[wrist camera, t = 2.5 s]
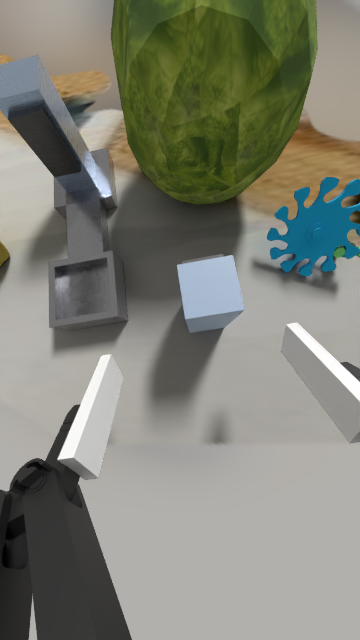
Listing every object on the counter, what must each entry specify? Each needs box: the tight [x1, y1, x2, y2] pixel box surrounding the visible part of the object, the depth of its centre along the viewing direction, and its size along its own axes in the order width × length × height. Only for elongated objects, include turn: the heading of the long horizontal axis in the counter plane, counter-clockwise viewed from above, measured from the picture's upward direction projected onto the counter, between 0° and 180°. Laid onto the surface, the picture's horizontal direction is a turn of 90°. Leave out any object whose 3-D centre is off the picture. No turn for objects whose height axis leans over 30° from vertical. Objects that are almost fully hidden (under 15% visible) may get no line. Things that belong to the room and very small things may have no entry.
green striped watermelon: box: [111, 0, 318, 205], centre depth 19 cm, size 19×23×18 cm
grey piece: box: [0, 55, 128, 331], centre depth 21 cm, size 9×27×12 cm, turn 8°
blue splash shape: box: [267, 177, 360, 276], centre depth 22 cm, size 11×6×10 cm
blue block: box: [177, 254, 245, 333], centre depth 19 cm, size 4×5×10 cm
